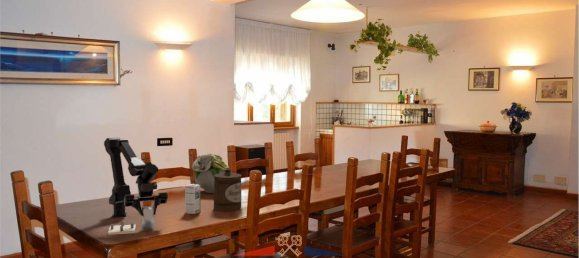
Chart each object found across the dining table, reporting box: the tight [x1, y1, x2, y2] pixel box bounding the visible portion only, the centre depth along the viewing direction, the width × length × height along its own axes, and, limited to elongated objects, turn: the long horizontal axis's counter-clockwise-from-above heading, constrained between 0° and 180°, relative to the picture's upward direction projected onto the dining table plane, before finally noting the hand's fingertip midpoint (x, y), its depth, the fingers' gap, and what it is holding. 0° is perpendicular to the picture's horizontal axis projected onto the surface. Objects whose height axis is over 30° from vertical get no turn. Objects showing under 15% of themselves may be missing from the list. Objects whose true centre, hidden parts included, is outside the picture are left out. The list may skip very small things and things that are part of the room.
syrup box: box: [184, 183, 202, 215], centre depth 244 cm, size 6×6×14 cm
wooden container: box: [213, 167, 242, 212], centre depth 255 cm, size 15×15×22 cm
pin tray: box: [107, 220, 137, 236], centre depth 209 cm, size 11×11×3 cm
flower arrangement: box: [191, 153, 230, 194], centre depth 299 cm, size 25×25×24 cm
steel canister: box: [141, 205, 155, 232], centre depth 211 cm, size 5×5×10 cm
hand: (148, 215), depth 210 cm, fingers closed on steel canister, 5 cm apart
